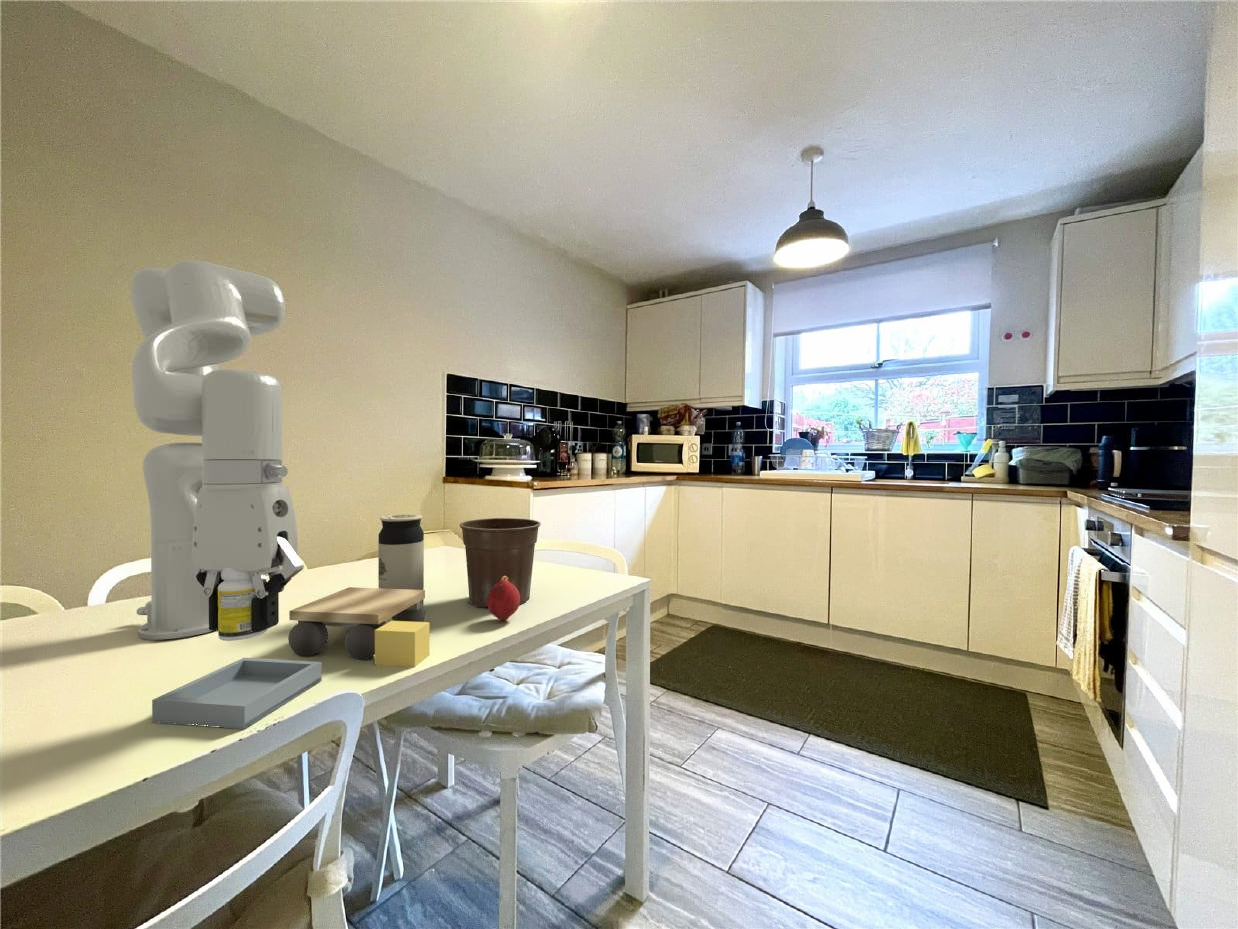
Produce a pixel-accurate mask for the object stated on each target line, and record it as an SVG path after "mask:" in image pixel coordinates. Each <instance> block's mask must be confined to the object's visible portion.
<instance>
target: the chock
mask: <svg viewBox="0 0 1238 929" xmlns="http://www.w3.org/2000/svg"><path fill="white" fill-rule="evenodd" d="M430 655H431V654H430V622H427V621H423V622H409V621H393V620H389V622H388V623H387V624H385V625H383V626H381V627H380V628H378V629H376V630H375V655H374V665H375V666H390V667H406V668H407V667H408V668H416V667H417V666H418V665H420V664H421V663H422V662H423V661H424V660H426V659H427V658H428V657H430Z"/></svg>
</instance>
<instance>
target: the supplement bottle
mask: <svg viewBox="0 0 1238 929" xmlns="http://www.w3.org/2000/svg"><path fill="white" fill-rule="evenodd" d="M221 577H222V579H223V580H224V581H223V582H222V583H221V584H220V585H219V586H218V630H217V633H218V639H219V640H220V641H226V642H231V641H232V642H233V641H241V640H249V639H252V638H255V637H259V636H260V635H263V634H264V633H266V632H267V631H268V630H269V628H268V629H265V630H263V631H261V632H253V631H252V630H251V601H252V599H253V598H256V597H257V595H256V592H255V588H254V584H253V580H252V575H251V573H248V572H240V571H235V570H233V569H231V568H225V569H224V570H222V572H221ZM266 581H267V582H268V581H269V579H268V578H266Z"/></svg>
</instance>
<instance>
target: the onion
mask: <svg viewBox="0 0 1238 929" xmlns="http://www.w3.org/2000/svg"><path fill="white" fill-rule="evenodd" d="M520 605H521V604H520V593H519V591H518V589H517V588H516V587H515V586H514V585H513V584H512V583H510V582H508V577H507V576H503V577H502V578H501V580H500V582H499V583H497V584H496V585H495V586H494V587H493V588H492V589H491V591H490V592H489V595H488V597H487V610H488V611H489V612H490V613H491V615H492V616H493V617H494V618H497V619H498V620H500V621H502V622H504V621H507V620H508V619H509V618H510V617H512V616H513V615H514V614H515V613H516V612H517V611H518V609H519V607H520Z"/></svg>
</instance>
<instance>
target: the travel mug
mask: <svg viewBox="0 0 1238 929" xmlns="http://www.w3.org/2000/svg"><path fill="white" fill-rule="evenodd" d="M422 519H423V515H421V514H414V513H413V514H412V513H409V514H405V513H404V514H390V515H382V516H380V518H379V520H380V521H381V530H380V531H379V532H378V559H377V560H378V564H377V565H378V569H377V570H378V577H377V578H378V582H377V583H378V584H377V585H378V587H377V588H381V589H408V590H425V586H424V585H425V584H424V583H425V582H424V581H425V580H424V576H425V575H424V574H425V572H424V570H425V569H424V568H425V567H424V566H425V562H424V561H425V560H424V558H425V556H424V555H425V554H424V550H425V544H424V543H425V536H424V535H425V532H424V530H423V528H422V526H421V520H422ZM424 601H425V600H424V599H423V600H421V601H420V602H421V603H422V604H423V606H424V605H425V604H424V603H425V602H424Z"/></svg>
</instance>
